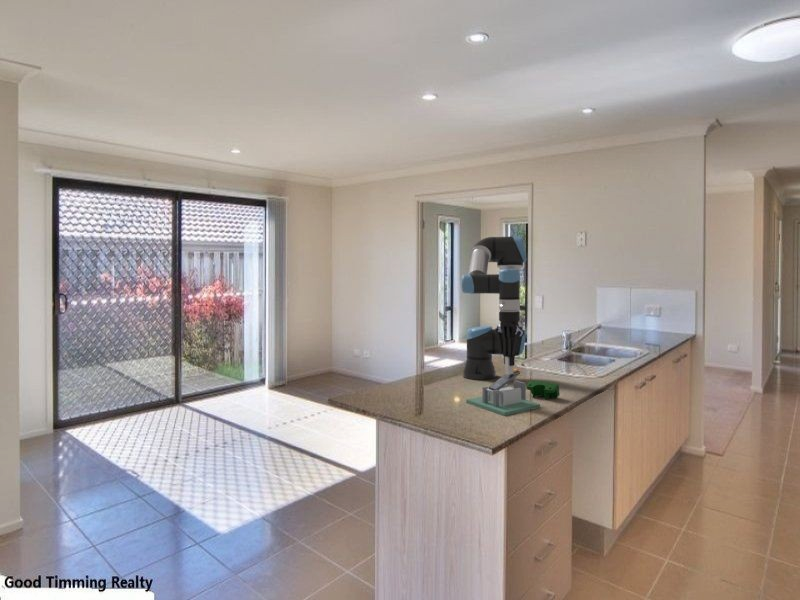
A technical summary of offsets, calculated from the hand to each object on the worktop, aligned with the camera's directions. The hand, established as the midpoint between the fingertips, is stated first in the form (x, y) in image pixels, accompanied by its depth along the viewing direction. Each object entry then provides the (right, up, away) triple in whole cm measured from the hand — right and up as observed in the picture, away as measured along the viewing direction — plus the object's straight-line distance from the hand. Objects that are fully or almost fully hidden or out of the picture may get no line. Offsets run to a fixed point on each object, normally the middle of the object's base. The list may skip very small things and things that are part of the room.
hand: (509, 373), depth 186 cm
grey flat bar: (-2, -3, 0) cm, 3 cm away
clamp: (+15, -11, +10) cm, 21 cm away
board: (-3, -12, -1) cm, 12 cm away
